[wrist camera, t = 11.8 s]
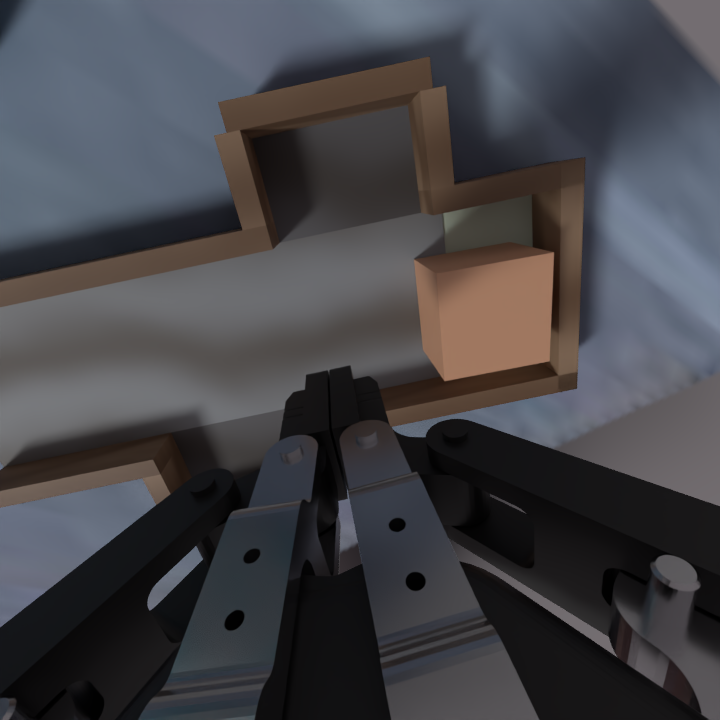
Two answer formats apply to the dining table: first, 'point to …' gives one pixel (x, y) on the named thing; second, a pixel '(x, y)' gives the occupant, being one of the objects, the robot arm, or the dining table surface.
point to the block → (485, 308)
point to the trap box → (275, 294)
